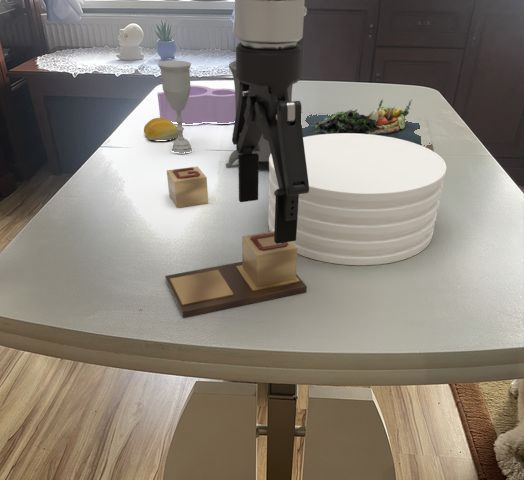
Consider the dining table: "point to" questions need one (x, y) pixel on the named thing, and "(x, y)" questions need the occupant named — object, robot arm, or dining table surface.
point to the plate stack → (365, 199)
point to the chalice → (177, 95)
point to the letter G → (187, 186)
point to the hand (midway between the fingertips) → (265, 219)
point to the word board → (223, 289)
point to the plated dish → (366, 124)
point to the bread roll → (160, 129)
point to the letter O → (268, 259)
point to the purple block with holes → (202, 106)
